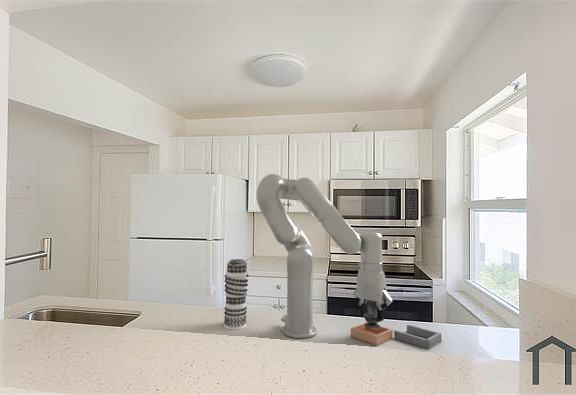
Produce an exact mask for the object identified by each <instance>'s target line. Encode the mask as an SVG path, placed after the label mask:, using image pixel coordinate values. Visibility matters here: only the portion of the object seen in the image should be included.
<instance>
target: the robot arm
mask: <svg viewBox="0 0 576 395" xmlns="http://www.w3.org/2000/svg"><path fill="white" fill-rule="evenodd" d="M281 199H282V200H289V201H299V202H300V203H301V204H302V206H304V208H305V210H306V211H308V212H309V214H310V215H311V216H312V218H313V219H314V220H315V221H316V222H317V224H318V225H320V226H321V227H322V228H323V229H324V231H325V232H326V234H328V235H329V236H330V238H331V239H332V240H333V241H334V243H336V245H337V246H338V247H339V248H340V250H342V251H343V252H344V253H345V254H348V255H353V254H356V253H359V252H360V262H358V264H357V266H358V267H360V269H359V270H358V273H357V278H356V288H355V289H354V291H353V292H352V295H353V296H354V297H355V300H356V301H357V302H358V305H359V306H360V318H365V316H364V314H365V313H367V311H368V305H367V302H368V300H369V301H374V302H376V304H377V306H376V307H377V308H378V309H376V311H377V321H378V323H380V322H382V321H384V320H385V310H386V308H387V307H388V306H390V305H391V303H393V299H392V298H391V296H390V295H389V293H388V291H387V290H388V289H387V288H388V286H387V281H386V275H385V271H383V237H382V234H381V233H379V232H356V231H355V230H354V229H353V228H352V227H351V225H350V224H349V223H348V222H347V221H346V220H345V219H344V217H343V216H342V215H341V214H340V212H339V210H338V209H337V208H336V206H335V205H334V204H333V203H332V201H331V200H329V199H328V198H327V196H326V195H325V194H324V193H323V191H321V189H320V188H319V187H318V186H317V185H316V184H315V183H314V182H313V181H312V180H311V179H310V178H309V177H300V178H299V179H292V178H283V177H282V176H281V175H279V174H276V173H269V174H267V175H265V176H264V177H263V178H262V179H261V181H260V182H259V184H258V186H257V189H256V201H257V202H256V203H257V205H258V208H259V210H260V212H261V214H262V216H263V218H264V220H265V222H266V223H267V225H268V226H269V229H270V231H271V232H272V234H273V237H274V238H275V239H276V241H277V242H278V243H279V244H281V245H283V246H284V248H285V250H286V251H287V252H288V254H287V257H286V273H287V274H286V276H287V277H286V278H287V279H286V282H287V283H286V295H287V296H286V300H287V301H286V314H284V315H283V317H281V318H280V321H281V322H283V323H284V325H283V327H282V331H281V332H282V334H283V335H285V336H287V337H289V338H295V339H307V338H312V337H314V336H316V335H317V333H318V332H317V331H318V330H317V328H316V326H313V322H314V320H313V318H314V316H313V315H314V314H313V313H314V308H313V307H314V261H315V255H316V253H315V250H314V248H313V247H312V245H311V243H310V241H309V240H308V238H307V236H306V235H305V233H304V231H303V230H302V228H301V226H300V225H299V223H297V222H296V221H294V220H292V218H291V217H290V215H289V214H288V211H287V210H286V208H285V206H284V205H283V203H282V202H281ZM384 301H385V302H384Z"/></svg>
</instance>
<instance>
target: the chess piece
mask: <svg viewBox="0 0 576 395" xmlns="http://www.w3.org/2000/svg"><path fill="white" fill-rule="evenodd" d="M366 305H367V313H365V314H364V316H365V317H364V320H365V322H364V323H365V326H366V327H369V328H379V327H380V326H381V325H380V324H379V322H378V321H377V307H378V306H377V303H376V302H374V301H369V300H367V302H366ZM366 322H367V323H366Z"/></svg>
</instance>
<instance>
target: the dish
mask: <svg viewBox="0 0 576 395" xmlns="http://www.w3.org/2000/svg"><path fill="white" fill-rule="evenodd" d="M365 323H367V321H365V322H364V323H363V322H362V323H360V324H358V325H355V326H353V327H350V338H353V339H356V340H359V341H362V342H364V343H367V344H370V345H373V346H375V347H378V346H379V345H382V344H383V343H386V342H388V341H389V340H392V339H393V337H394V330H393V329H392V328H388V327H385V326H383V325H380V327H379V328H369V327H366V326H365Z"/></svg>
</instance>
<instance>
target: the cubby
mask: <svg viewBox="0 0 576 395" xmlns="http://www.w3.org/2000/svg"><path fill="white" fill-rule="evenodd" d="M406 332H407V333H406ZM406 332H404V331H399V330H396V329H395V330H393V337H394V339H396V340H398V341H403V342H406V343H409V344H412V345H415V346H418V347H422V348H425V349H427V350H428V349H431V348H432V347H434V346H436V345H437V344H438V343H440V342H442V333H441V332H438V331H434V330H431V329H428V328H427V329H426V328H422V327H419V326H416V325H413V324H406ZM419 336H420V337H419Z"/></svg>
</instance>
